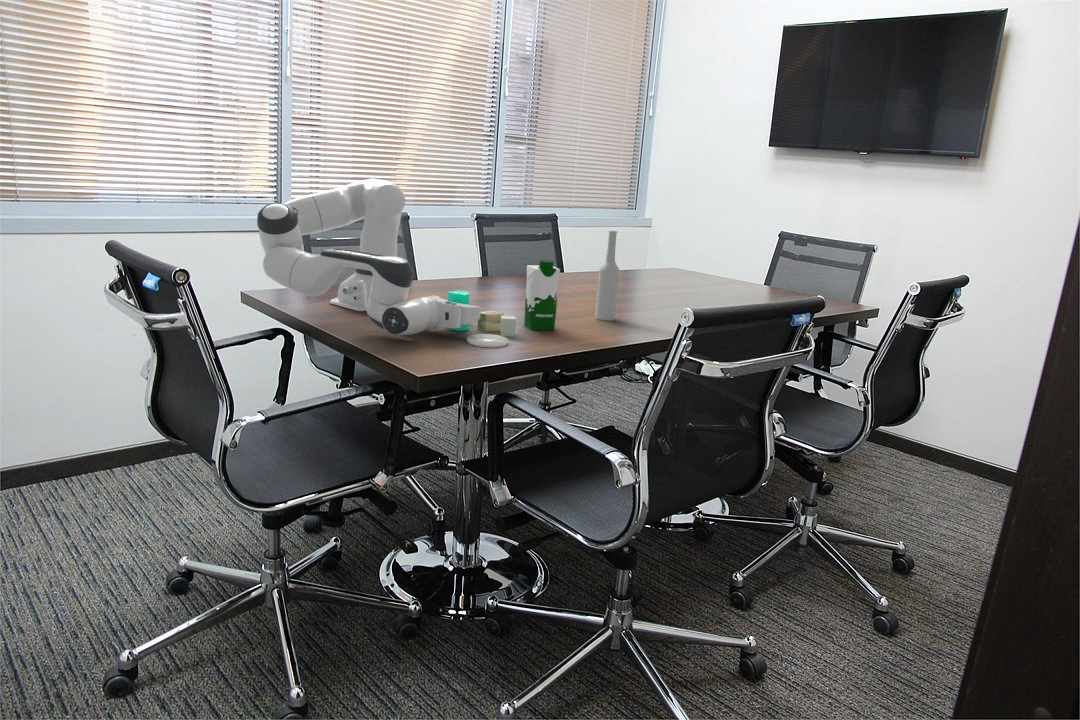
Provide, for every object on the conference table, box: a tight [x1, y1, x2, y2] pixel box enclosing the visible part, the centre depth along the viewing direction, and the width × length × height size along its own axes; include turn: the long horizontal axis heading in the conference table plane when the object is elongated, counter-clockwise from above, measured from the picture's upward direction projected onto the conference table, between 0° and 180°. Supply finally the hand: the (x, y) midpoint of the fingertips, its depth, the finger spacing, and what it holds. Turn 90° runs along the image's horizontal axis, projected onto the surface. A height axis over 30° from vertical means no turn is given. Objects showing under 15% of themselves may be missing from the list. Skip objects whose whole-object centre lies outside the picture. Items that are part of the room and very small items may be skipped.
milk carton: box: [523, 259, 561, 331], centre depth 223 cm, size 9×9×20 cm
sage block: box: [499, 315, 517, 338], centre depth 213 cm, size 4×4×5 cm
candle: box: [446, 290, 470, 332], centre depth 215 cm, size 6×6×12 cm
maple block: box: [476, 310, 504, 333], centre depth 218 cm, size 4×6×5 cm, turn 131°
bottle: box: [594, 230, 620, 322], centre depth 242 cm, size 7×7×28 cm
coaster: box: [466, 333, 509, 349], centre depth 203 cm, size 11×11×1 cm
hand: (460, 305), depth 215 cm, fingers open, 5 cm apart
